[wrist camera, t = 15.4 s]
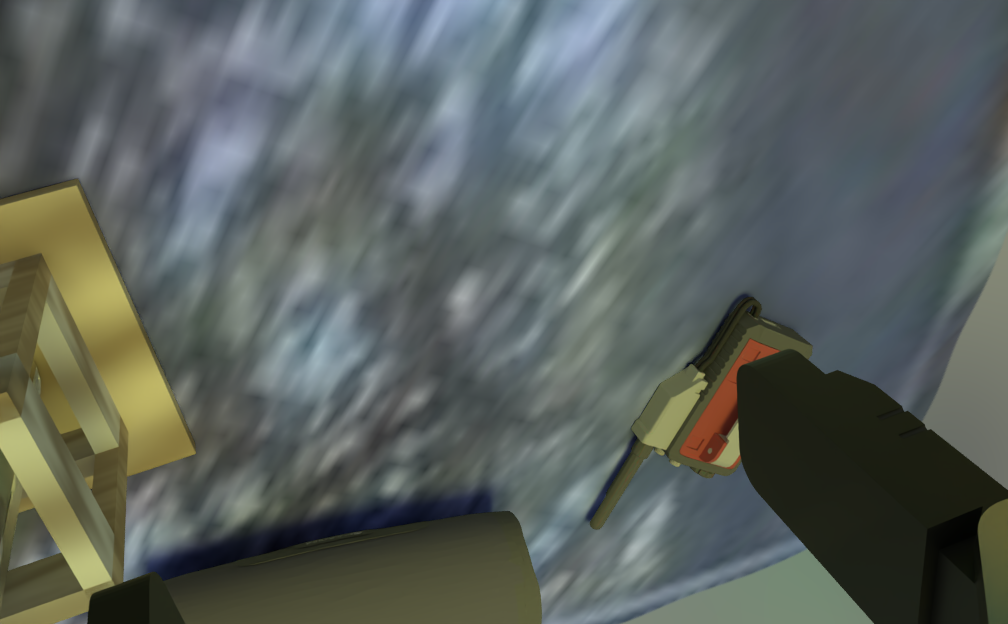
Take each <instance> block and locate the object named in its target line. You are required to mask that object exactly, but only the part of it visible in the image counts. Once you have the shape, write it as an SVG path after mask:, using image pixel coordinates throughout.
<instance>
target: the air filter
mask: <svg viewBox="0 0 1008 624" xmlns="http://www.w3.org/2000/svg"><path fill="white" fill-rule="evenodd" d="M30 379H31V380H32V382H33V384H34V386H35V388H36V390H37V392H38V393H39V395H40V394H41V376H40V373H39V370H38V367H37V364H36V362H35V361H34V359H33V363H32V367H31V372H30ZM22 491H23V486H22V484H21V483H20V481H19V479H18V478H17V476H16V474H15V473H14V471H13V469H12V467H11V466H10V464H9V462H8V461H7V459H6V457H5V455H4V454H3V452H2V450H1V449H0V609H1V603H2V598H3V593H4V587H5V582H6V576H7V571H8V566H9V560H10V555H11V550H12V544H13V539H14V533H15V528H16V523H17V517H18V512H19V507H20V501H21V496H22Z"/></svg>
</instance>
